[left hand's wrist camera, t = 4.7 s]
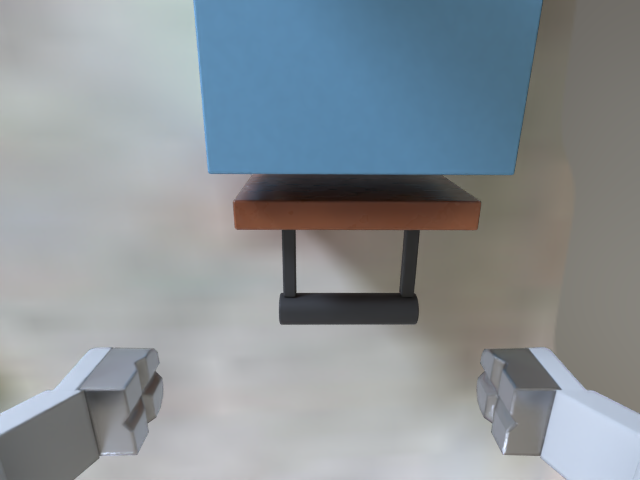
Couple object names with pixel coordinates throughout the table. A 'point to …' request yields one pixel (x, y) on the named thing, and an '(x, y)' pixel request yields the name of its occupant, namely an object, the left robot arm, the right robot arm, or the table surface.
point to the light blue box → (365, 85)
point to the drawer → (352, 214)
